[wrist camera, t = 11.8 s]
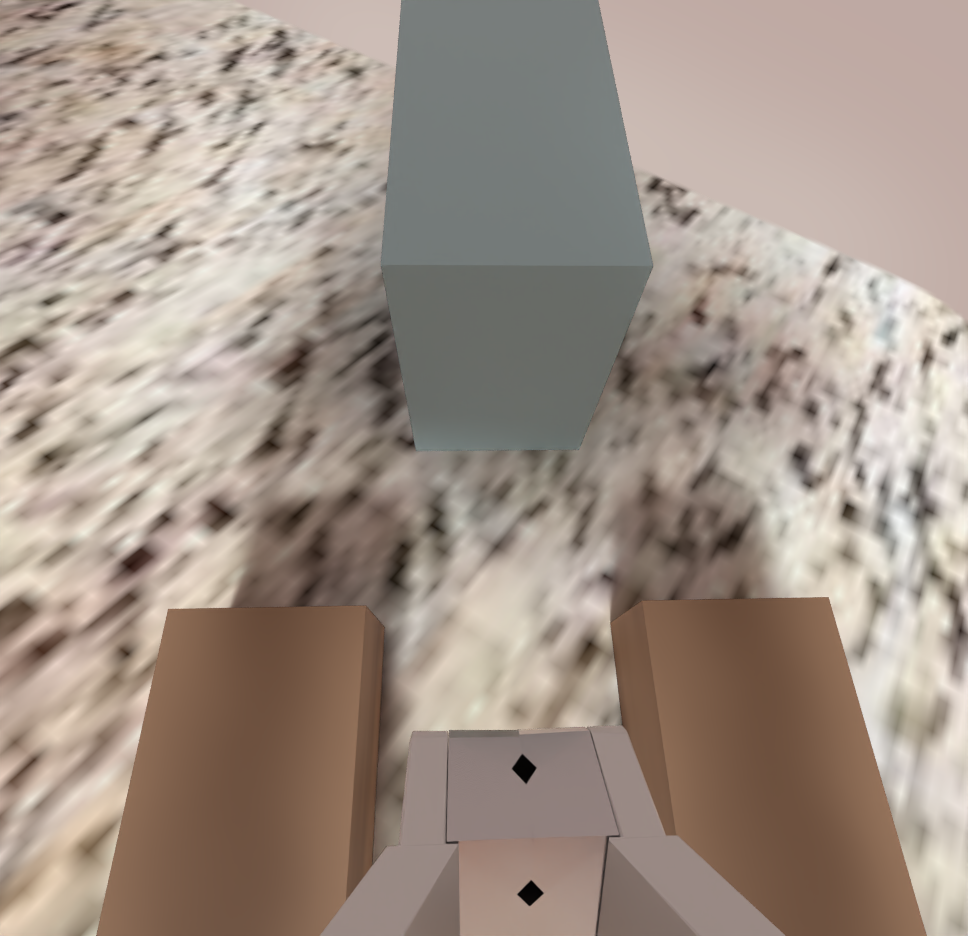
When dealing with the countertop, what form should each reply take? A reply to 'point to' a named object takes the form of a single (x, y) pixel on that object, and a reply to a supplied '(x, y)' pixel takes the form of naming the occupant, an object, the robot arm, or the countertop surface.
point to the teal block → (508, 222)
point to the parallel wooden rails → (354, 755)
